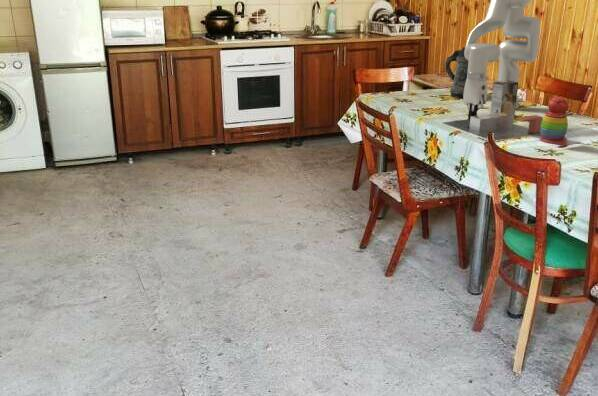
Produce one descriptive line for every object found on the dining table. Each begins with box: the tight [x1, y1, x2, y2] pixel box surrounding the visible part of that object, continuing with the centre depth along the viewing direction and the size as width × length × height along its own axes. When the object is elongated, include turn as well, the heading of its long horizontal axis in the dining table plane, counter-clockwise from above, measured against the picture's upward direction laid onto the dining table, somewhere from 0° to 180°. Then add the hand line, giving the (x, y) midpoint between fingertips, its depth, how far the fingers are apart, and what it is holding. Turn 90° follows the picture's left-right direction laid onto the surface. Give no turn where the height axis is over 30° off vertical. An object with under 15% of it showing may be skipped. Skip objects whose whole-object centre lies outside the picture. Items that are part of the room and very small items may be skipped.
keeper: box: [515, 114, 543, 133], centre depth 232 cm, size 10×4×6 cm, turn 114°
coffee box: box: [489, 80, 519, 117], centre depth 259 cm, size 9×6×16 cm
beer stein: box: [444, 47, 469, 100], centre depth 302 cm, size 16×19×25 cm
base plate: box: [442, 118, 541, 142], centre depth 242 cm, size 26×32×1 cm
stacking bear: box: [539, 95, 571, 149], centre depth 219 cm, size 11×10×18 cm
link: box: [470, 112, 515, 132], centre depth 241 cm, size 17×6×5 cm, turn 114°
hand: (472, 119), depth 247 cm, fingers closed
